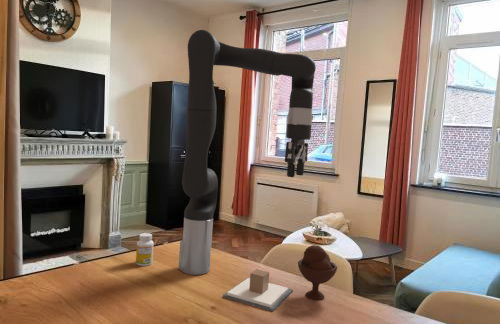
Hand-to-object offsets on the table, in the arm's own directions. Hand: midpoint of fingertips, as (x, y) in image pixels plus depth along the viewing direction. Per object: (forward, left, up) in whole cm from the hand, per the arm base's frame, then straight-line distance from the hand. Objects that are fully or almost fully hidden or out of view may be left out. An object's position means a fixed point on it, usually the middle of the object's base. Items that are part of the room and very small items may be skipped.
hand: (295, 176), depth 115 cm
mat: (-3, -15, -33) cm, 36 cm away
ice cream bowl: (+11, -7, -33) cm, 36 cm away
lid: (-3, -16, -32) cm, 36 cm away
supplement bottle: (-45, -15, -33) cm, 58 cm away
